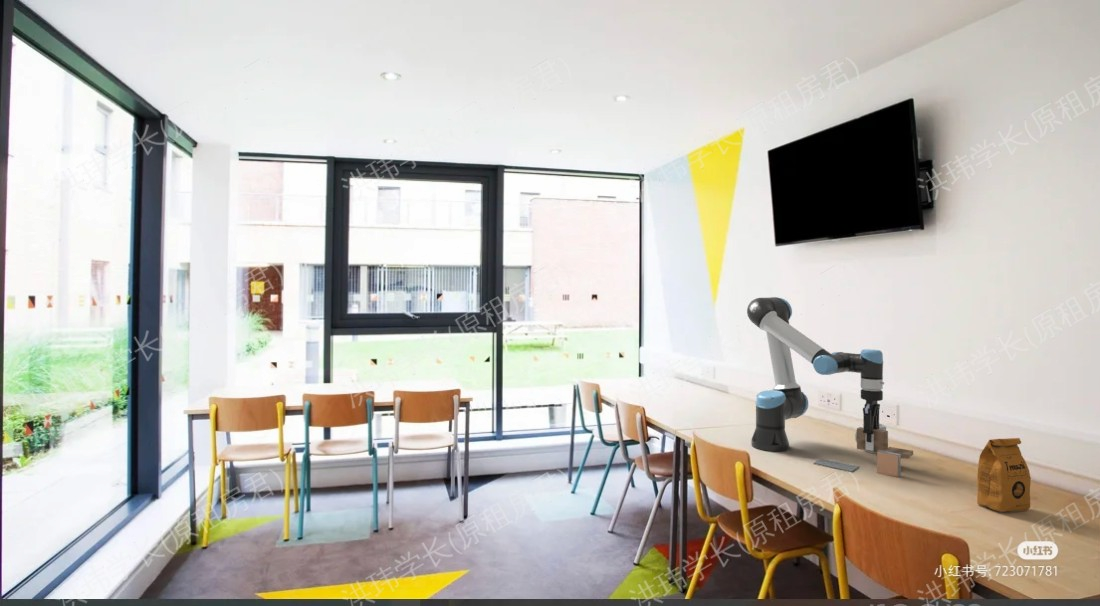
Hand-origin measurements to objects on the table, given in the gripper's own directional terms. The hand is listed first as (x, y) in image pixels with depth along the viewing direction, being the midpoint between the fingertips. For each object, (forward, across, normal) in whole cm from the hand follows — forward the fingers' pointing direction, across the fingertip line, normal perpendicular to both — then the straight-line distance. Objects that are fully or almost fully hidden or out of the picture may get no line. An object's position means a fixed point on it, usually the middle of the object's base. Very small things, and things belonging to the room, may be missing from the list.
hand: (871, 448), depth 221 cm
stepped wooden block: (0, 0, -4) cm, 4 cm away
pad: (+5, -14, +8) cm, 17 cm away
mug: (+5, +17, +5) cm, 19 cm away
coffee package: (+6, -21, -43) cm, 48 cm away
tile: (+5, -10, -9) cm, 15 cm away
